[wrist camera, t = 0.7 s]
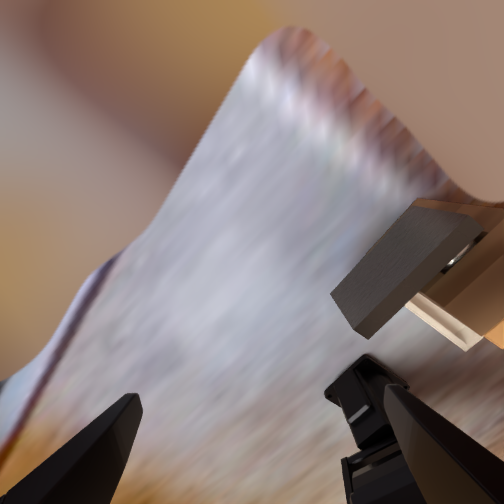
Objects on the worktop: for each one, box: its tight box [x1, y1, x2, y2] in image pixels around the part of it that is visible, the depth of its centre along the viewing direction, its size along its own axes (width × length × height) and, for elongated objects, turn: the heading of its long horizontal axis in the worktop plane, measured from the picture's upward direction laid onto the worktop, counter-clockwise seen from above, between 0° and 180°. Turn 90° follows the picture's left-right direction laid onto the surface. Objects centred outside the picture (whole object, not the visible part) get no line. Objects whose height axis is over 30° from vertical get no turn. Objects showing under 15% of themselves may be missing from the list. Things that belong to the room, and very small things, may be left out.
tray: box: [404, 293, 484, 352], centre depth 20 cm, size 10×9×2 cm
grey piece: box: [330, 205, 484, 340], centre depth 15 cm, size 9×8×4 cm
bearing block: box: [366, 198, 504, 337], centre depth 16 cm, size 3×6×9 cm, turn 144°
